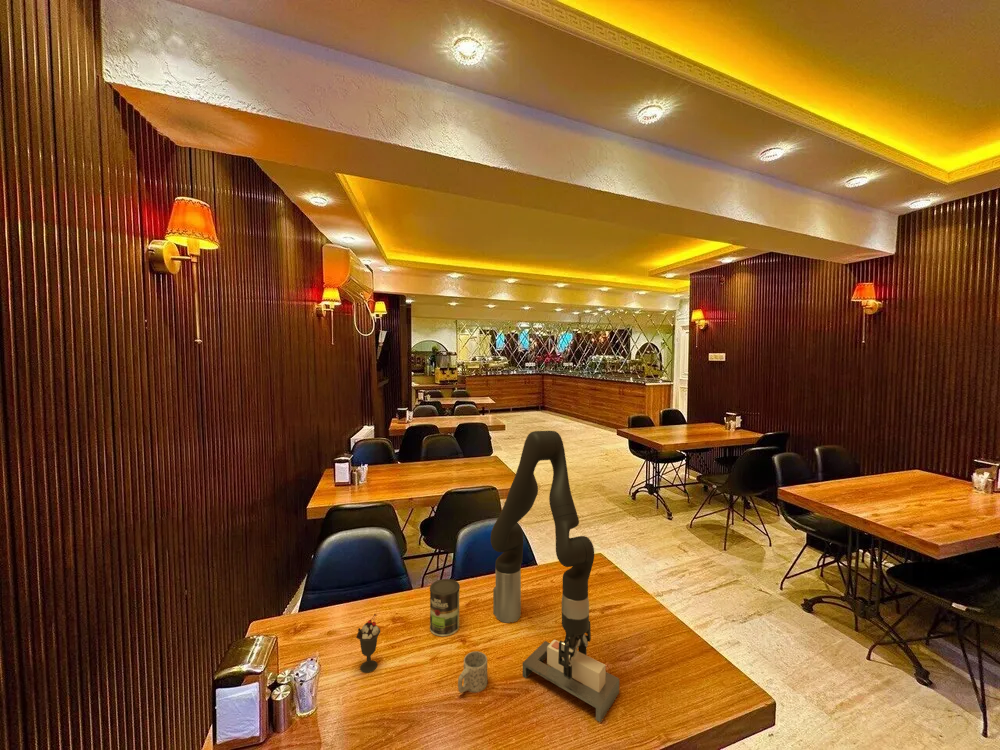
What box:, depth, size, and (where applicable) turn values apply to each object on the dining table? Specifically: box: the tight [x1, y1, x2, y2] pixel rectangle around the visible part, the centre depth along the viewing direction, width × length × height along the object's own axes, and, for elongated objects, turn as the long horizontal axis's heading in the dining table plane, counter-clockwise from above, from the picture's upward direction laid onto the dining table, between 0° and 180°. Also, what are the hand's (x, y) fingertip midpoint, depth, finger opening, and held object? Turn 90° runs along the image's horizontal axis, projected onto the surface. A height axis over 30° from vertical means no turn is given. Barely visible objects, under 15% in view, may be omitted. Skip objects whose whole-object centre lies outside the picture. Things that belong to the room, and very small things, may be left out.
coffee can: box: [429, 578, 461, 638], centre depth 135 cm, size 10×10×14 cm
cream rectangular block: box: [546, 638, 606, 692], centre depth 109 cm, size 16×4×8 cm, turn 51°
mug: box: [457, 650, 488, 694], centre depth 109 cm, size 10×7×7 cm
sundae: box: [356, 613, 381, 674], centre depth 117 cm, size 7×7×15 cm
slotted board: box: [522, 640, 620, 723], centre depth 110 cm, size 24×12×4 cm, turn 51°
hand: (575, 668), depth 109 cm, fingers open, 8 cm apart
